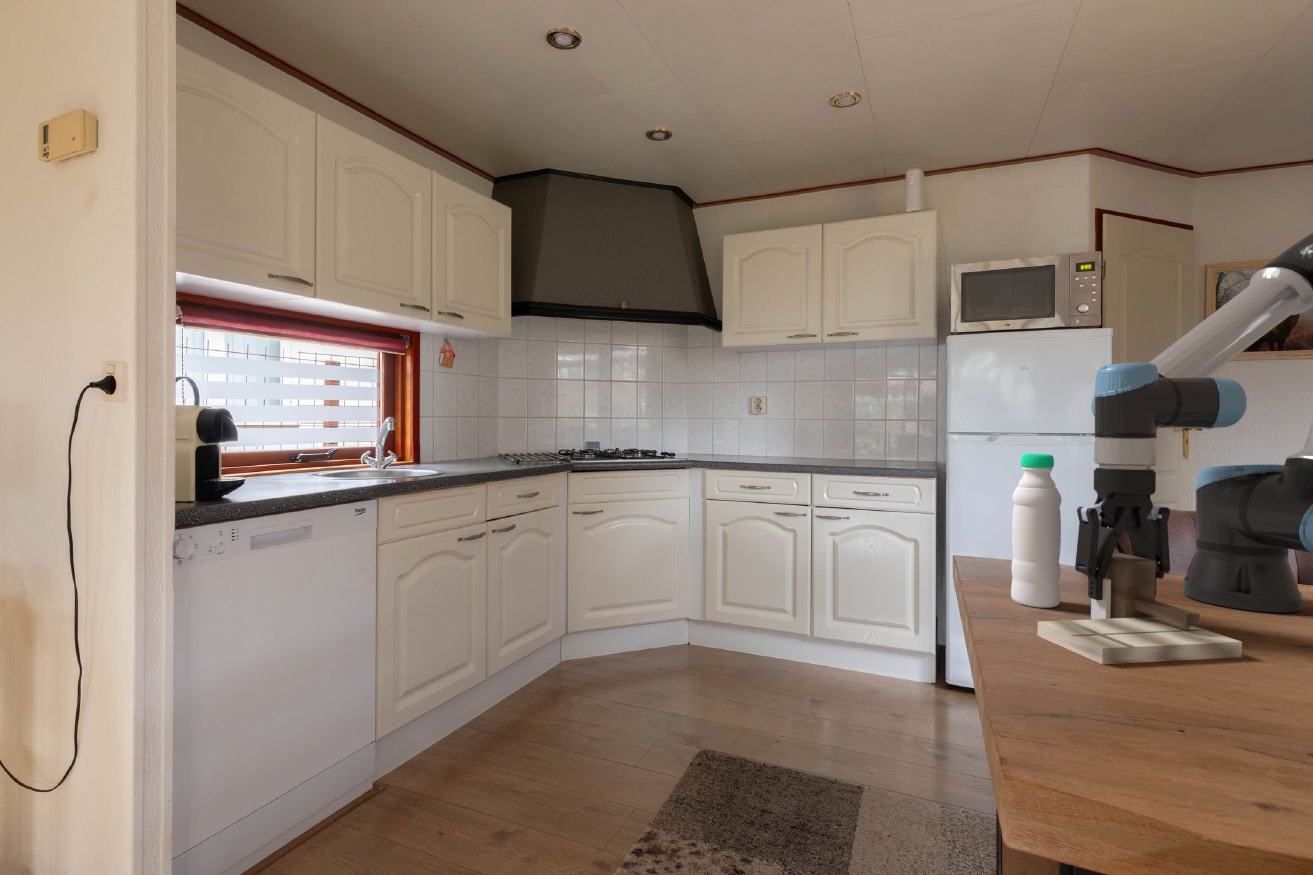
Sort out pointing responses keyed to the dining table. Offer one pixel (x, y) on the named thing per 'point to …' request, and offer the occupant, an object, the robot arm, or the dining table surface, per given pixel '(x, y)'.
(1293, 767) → the dining table surface
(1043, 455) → the water bottle
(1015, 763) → the dining table surface
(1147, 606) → the block with long handle
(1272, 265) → the robot arm
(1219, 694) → the dining table surface
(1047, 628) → the board
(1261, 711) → the dining table surface
